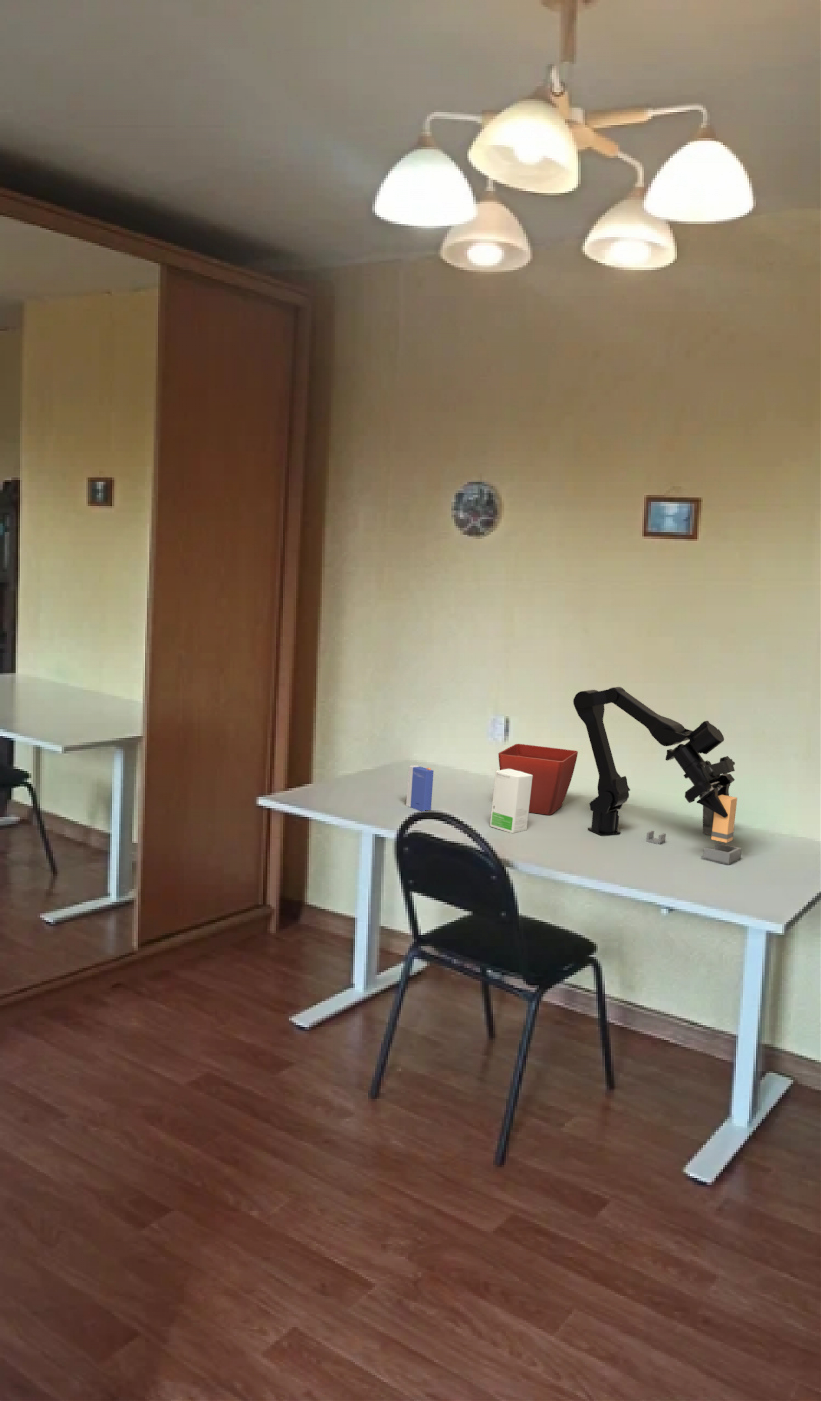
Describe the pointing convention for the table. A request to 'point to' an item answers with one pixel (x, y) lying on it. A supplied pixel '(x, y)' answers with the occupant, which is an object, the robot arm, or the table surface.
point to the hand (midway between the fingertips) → (729, 815)
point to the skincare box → (511, 800)
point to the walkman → (419, 788)
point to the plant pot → (542, 773)
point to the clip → (654, 840)
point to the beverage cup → (708, 820)
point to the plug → (725, 820)
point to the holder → (722, 854)
